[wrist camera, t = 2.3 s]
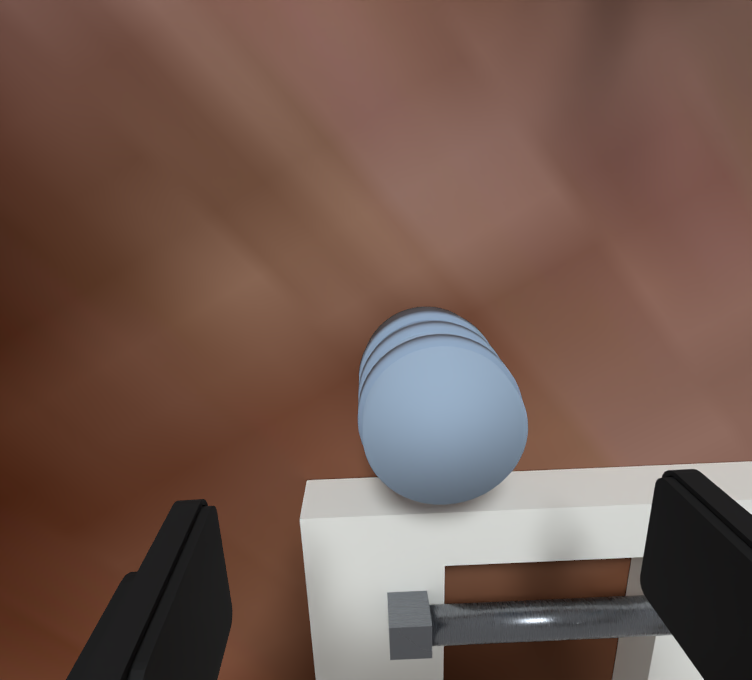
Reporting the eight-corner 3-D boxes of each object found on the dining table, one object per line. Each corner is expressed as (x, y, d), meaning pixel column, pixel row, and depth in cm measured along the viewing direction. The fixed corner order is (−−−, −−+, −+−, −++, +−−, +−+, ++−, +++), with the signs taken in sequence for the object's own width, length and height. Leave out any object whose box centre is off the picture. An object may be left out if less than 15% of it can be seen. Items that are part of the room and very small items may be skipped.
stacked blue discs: (490, 300, 19) (538, 348, 14) (486, 420, 20) (527, 505, 15) (356, 305, 19) (353, 356, 14) (362, 425, 20) (361, 512, 15)
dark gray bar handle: (722, 576, 20) (753, 611, 19) (715, 607, 21) (744, 643, 19) (387, 591, 20) (388, 627, 18) (388, 621, 21) (390, 660, 19)
